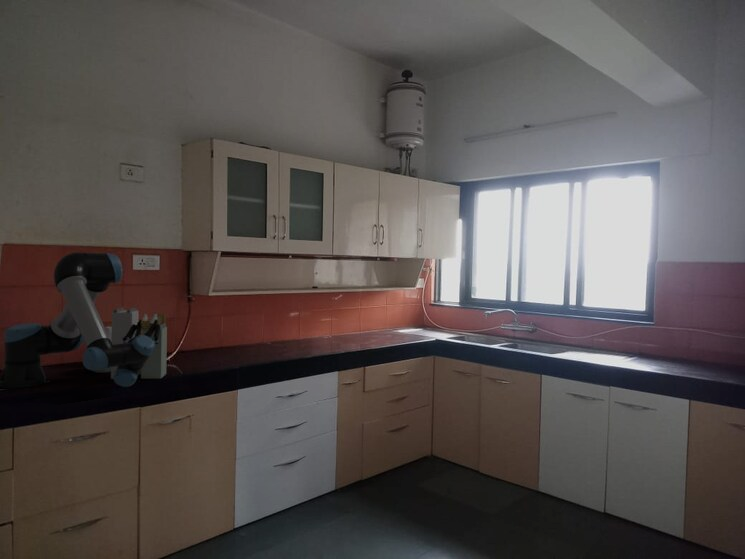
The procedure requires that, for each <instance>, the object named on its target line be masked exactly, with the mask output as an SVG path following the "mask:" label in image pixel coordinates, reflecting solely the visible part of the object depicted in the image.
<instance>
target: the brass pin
mask: <svg viewBox="0 0 745 559" xmlns="http://www.w3.org/2000/svg"><path fill="white" fill-rule="evenodd" d="M156 314H157V321H158V324H159V325H161V324H163V323H166V322H167V321H166V320H167V315H166V313H156ZM153 317H154V315H153V316H151V317H147V318H148V319H146V320H143V321H142V324H141V330H142V329H149V328H150V327H151V322H152V319H153ZM158 324H157V325H158ZM166 324H167V323H166Z"/></svg>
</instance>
